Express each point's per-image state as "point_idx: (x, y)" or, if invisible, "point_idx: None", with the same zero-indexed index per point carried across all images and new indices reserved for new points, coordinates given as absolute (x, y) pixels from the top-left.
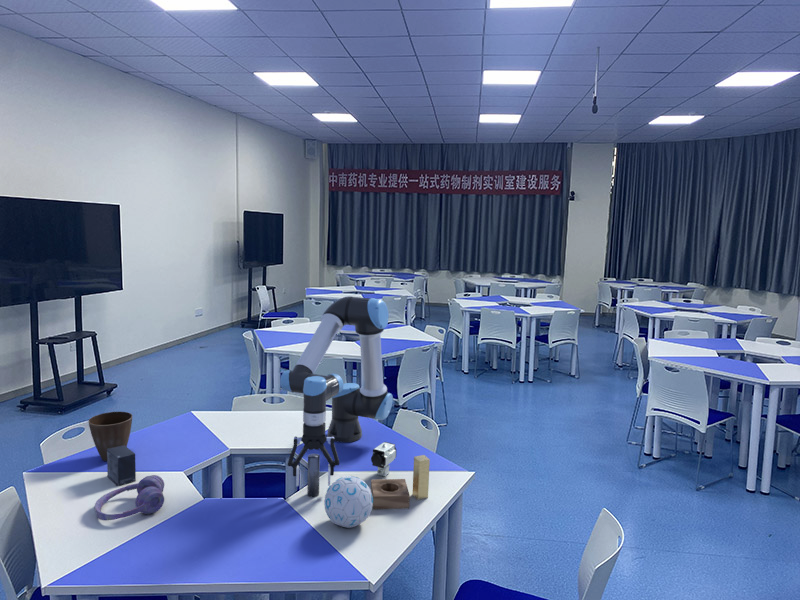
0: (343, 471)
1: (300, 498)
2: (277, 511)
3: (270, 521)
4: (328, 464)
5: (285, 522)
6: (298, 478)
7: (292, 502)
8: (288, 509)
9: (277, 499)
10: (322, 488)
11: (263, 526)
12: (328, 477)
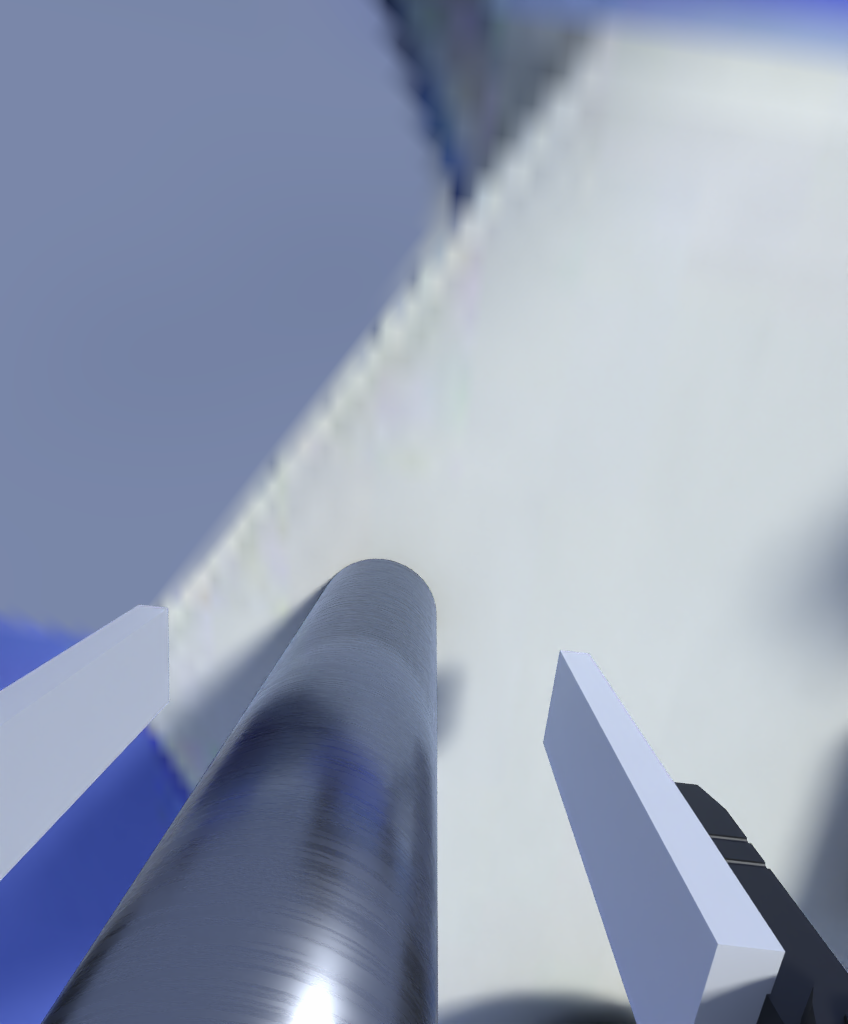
0: (838, 50)
1: (255, 665)
2: (75, 833)
3: (46, 945)
4: (718, 945)
5: None
6: (88, 784)
7: (185, 721)
8: (161, 820)
9: (42, 649)
10: (484, 502)
11: (8, 990)
12: (584, 848)
